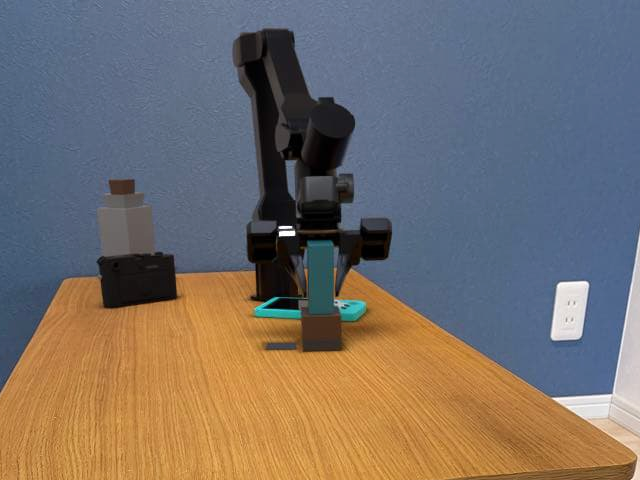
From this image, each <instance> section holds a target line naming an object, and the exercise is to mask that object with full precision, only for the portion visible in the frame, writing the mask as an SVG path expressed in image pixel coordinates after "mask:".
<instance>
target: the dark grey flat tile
mask: <svg viewBox="0 0 640 480" xmlns="http://www.w3.org/2000/svg"><path fill="white" fill-rule="evenodd" d="M297 344H298V342H297V341H295V342H288V341H287V342H286V341H285V342H267V343H266V346H265V350H266V351H267V350H297Z"/></svg>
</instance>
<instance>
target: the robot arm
mask: <svg viewBox="0 0 640 480" xmlns="http://www.w3.org/2000/svg"><path fill="white" fill-rule="evenodd" d="M295 41H296V39H295V34H294V31H293V30H290V29H289V28H287V27H263V28H262V29H261V30H260V29H259V30H257V31H241V32H240V34H239V36H238V37H237V38H235V39H234V40H233V41H232V42H233V43H232V48H231V51H232V52H231V56H232V62H233V63H232V64H233V66H234V67H235V68H236V72H237V79H238V83H239V85H240V86H241V87H242V89H243V90H244V92H245V93H246V95H247V96H248V97H249V99H250V105H251V117H252V127H253V137H254V148H255V159H256V168H257V179H258V188H259V198H258V200H257V203H256V205H255V207H254V210H253V212H252V213H251V220H249V222H247V224H246V230H245V231H246V244H245V245H246V246H245V249H246V256H247V257H246V258H247V260H248V262H249V263H251V264H253V265H254V269H255V271H254V272H255V294H252V295H250V296H249V297H250V300H256V301H257V300H258V301H266V302H267V301H269V300H271V299H273V298H274V297H287V298H308V282H307V277H306V272H305V266H304V265H305V264H304V260H305V254H306V253H305V251H306V250H307V241H317V240H332V242H333V244H334V249H338V253H337V263H336V273H335V280H334V298H338V297H339V296H340V294H341V291H342V288H343V286H344V282H345V280H346V277H347V276H348V274H349V272H350V271H351V269H352V267H355V266H359V265H360V264H361V259H362V260H363V261H364V262H368V261H369V262H374V261H375V262H376V261H385V260H387V259H389V255H390V249H391V244H392V237H393V223H392V221H391V220H390V219H389V218H388V217H387V216H375V217H374V216H371V217H369V216H368V217H360V222H359V229H347V228H345V227H344V228H341V226H340V225H341V223H342V216H343V215H342V204H353V203H354V199H355V181H354V173H353V172H352V173H338V172H337V169H338V168H339V167H342V166H343V164H344V161H345V158H346V155H347V153H348V149H349V146H350V143H351V140H352V137H353V135H354V131H355V127H356V119H355V116H354V114H352V113H351V112H350V111H349V110H348V109H347V108H346V107H344V106H343V105H341V104H339V103H336V102H335V99H334V96H318V97H317V100H316V99H315V98H313V97H312V95H311V94H310V91H309V88H308V85H307V81H306V79H305V76H304V73H303V70H302V67H301V64H300V60H299V58H298V55H297V52H296V42H295ZM286 161H287V162H289V161H290V162H291V161H295V163H294V168H293V170H294V171H293V172H294V197H295V199H294V197H293V196H292V195H291V193H290V192H289V184H288V183H289V182H288V172H287V162H286ZM299 291H300V292H299Z"/></svg>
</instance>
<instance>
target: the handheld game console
mask: <svg viewBox="0 0 640 480" xmlns="http://www.w3.org/2000/svg"><path fill="white" fill-rule="evenodd" d="M334 306H338V307H339V310H340V313H341V322H356V321H357V320H358V319H360V318H361V317H362V316H363V315H365V313H366V311H367V303H366V302H365V301H364V300H356V299H355V300H354V299H336V298H334ZM301 307H308V297H307V298H304V297H298V298H287V297H274V298H273V299H271V300H269V301H266V302H264V303H263V304H260V305H258V306H256V307H255V308H254V317H257V318H276V319H277V318H278V319H298V320H301Z"/></svg>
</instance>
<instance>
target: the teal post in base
mask: <svg viewBox="0 0 640 480" xmlns="http://www.w3.org/2000/svg"><path fill="white" fill-rule="evenodd" d="M306 261H307V262H306V267H307V270H306V272H307V273H306V274H307V275H306V276H307V277H306V282H307V298H308V307H301V319H300V333H301V337H300V338H301V339H300V340H301V348H302V352H327V351H328V352H329V351H331V352H332V351H342V321H341V313H340V310H339V307H338V306H334V299H335V248H334V244H333V242H332V240H317V241H307V249H306Z"/></svg>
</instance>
